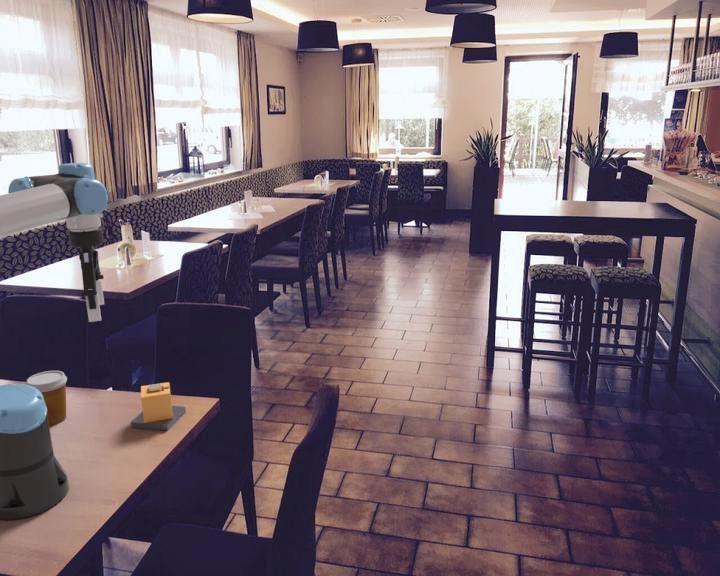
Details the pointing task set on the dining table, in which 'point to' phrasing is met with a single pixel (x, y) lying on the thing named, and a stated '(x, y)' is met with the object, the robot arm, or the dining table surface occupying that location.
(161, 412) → the orange slotted box
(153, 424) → the post plate
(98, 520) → the dining table surface
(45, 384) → the brown jar with lid
